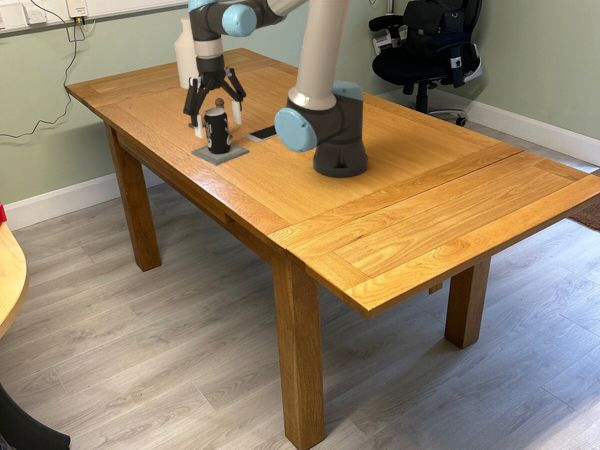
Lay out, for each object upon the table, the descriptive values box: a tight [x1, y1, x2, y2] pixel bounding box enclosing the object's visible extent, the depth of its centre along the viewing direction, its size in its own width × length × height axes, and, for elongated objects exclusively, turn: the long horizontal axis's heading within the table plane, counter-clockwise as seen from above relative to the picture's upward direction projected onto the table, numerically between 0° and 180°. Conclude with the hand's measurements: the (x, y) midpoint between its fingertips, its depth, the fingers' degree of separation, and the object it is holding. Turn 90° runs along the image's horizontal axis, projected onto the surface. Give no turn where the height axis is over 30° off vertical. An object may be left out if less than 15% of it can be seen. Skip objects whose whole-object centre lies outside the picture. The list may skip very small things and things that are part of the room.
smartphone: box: [243, 124, 279, 144], centre depth 184 cm, size 7×15×1 cm, turn 132°
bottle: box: [173, 16, 201, 90], centre depth 223 cm, size 12×12×25 cm
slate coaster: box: [190, 141, 250, 166], centre depth 171 cm, size 12×12×1 cm
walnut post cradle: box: [187, 94, 233, 139], centre depth 183 cm, size 18×4×13 cm, turn 44°
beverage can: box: [203, 107, 231, 154], centre depth 168 cm, size 7×7×12 cm
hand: (219, 130), depth 167 cm, fingers open, 13 cm apart
